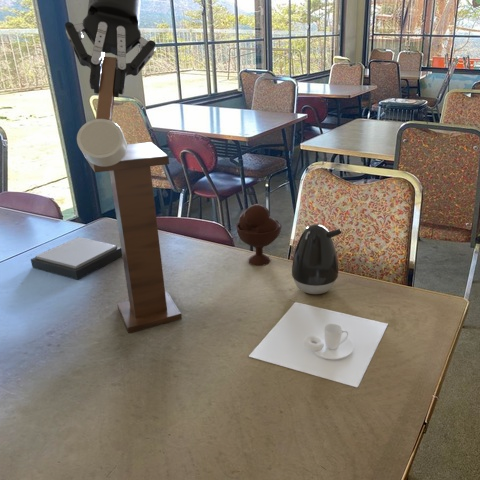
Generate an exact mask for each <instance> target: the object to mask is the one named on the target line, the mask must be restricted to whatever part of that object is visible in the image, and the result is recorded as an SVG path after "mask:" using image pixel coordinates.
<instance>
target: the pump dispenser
mask: <svg viewBox="0 0 480 480" xmlns="http://www.w3.org/2000/svg"><path fill="white" fill-rule="evenodd" d="M341 234H342V230H341V228H338V229H334V230H330V231H329V230H328V229H327V228H326V227H325V225H324V226H323V225H322V224H318V223H314V224H310V225H308V226H307V227H305V229H304V230H303V232H302V233H301V235H300V237H299V239H298V241H297V245H296V247H295V250H294V254H293V258H292V264H291V276H292V278H293V280H294V283H295V285H296V287H297V289H299V290H300V291H302V292H304V293H306V294H309V295H321V294H325V293H327V292H329V291H330V290H331V289H332V288H333V286H334V285H335V283H336V281H337V279H338V278H339V261H338V254H337V250H336V247H335V244H334V241H333V239H332V238H334V237H337V236H340V235H341Z"/></svg>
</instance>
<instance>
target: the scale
mask: <svg viewBox="0 0 480 480" xmlns="http://www.w3.org/2000/svg"><path fill="white" fill-rule="evenodd" d="M121 257H122V250H121V246H118V245H116V244H111V243H107V242H103V241H98V240H95V239H89V238H85V237H81V236H78V237H74V238H73V239H71V240H68V241H66V242H63V243H62V244H58V245H56V246H55V247H52V248H50V249H48V250H46V251H45V250H44V252H41V253H39V254H36V255H35V257H33V258H31V259H30V263H31V267H32V268H33V269H36V270H40V271H44V272H47V273H52V274H55V275H57V276H61V277H65V278H70V279H73V280H80V279H82V278H84V277H86V276H87V275H89V274H92V273H93V272H95V271H96V270H98V269H101V268H102V267H105V266H106V265H108V264H110V263H112V262H114V261H115V260H117V259H120V258H121Z"/></svg>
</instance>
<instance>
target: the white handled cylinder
mask: <svg viewBox="0 0 480 480" xmlns="http://www.w3.org/2000/svg"><path fill="white" fill-rule="evenodd" d="M117 67H118V61H117V57H114V56H113V57H112V56H105V55H104V56H103V61H102V64H101V79H100V87H99V94H98V96H97V98H98V99H97V104H96V114H95V119H92V120H91V119H90V120H89V121H87V122H85V123H84V124H83V125H82V126H81V127H80V128H79V130H78V131H77V134H76V143H77V146H78V148H79V150H80V151H81V153H82V154H83V157H84V156H85V157H84V158H85V159H87V160H88V161H89V162H91V163H92V164H94V165H97V166H112V165H114V164H116V163H118V162H120V161H121V160H122V159H123V158H124V156H125V154H126V152H127V144H128V142H127V140H126V137H125V135H124V132H123V130H122V129H121V127H120V126H119V125H118V124H117V123H115V121H113V115H114V114H113V113H114V105H115V97H114V84H115V74H116V69H117ZM87 160H86V161H87ZM88 161H87V162H88Z"/></svg>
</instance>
